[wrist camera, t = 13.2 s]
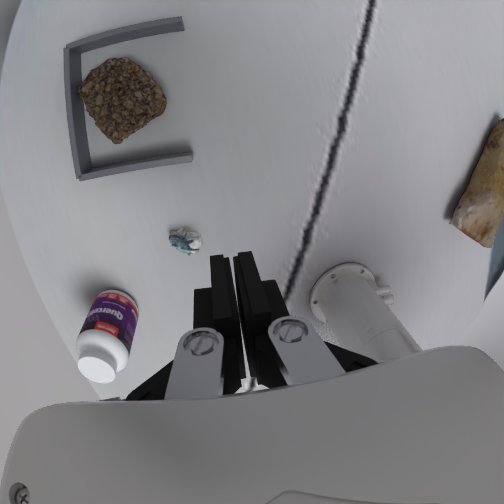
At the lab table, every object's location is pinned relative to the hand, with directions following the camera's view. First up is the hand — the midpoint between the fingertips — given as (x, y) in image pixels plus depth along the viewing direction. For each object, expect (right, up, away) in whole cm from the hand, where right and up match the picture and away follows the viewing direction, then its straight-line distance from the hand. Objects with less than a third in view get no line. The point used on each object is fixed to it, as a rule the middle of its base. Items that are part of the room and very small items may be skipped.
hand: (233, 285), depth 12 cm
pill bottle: (-22, -8, +34) cm, 41 cm away
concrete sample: (-16, +22, +20) cm, 33 cm away
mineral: (+46, +18, +32) cm, 59 cm away
